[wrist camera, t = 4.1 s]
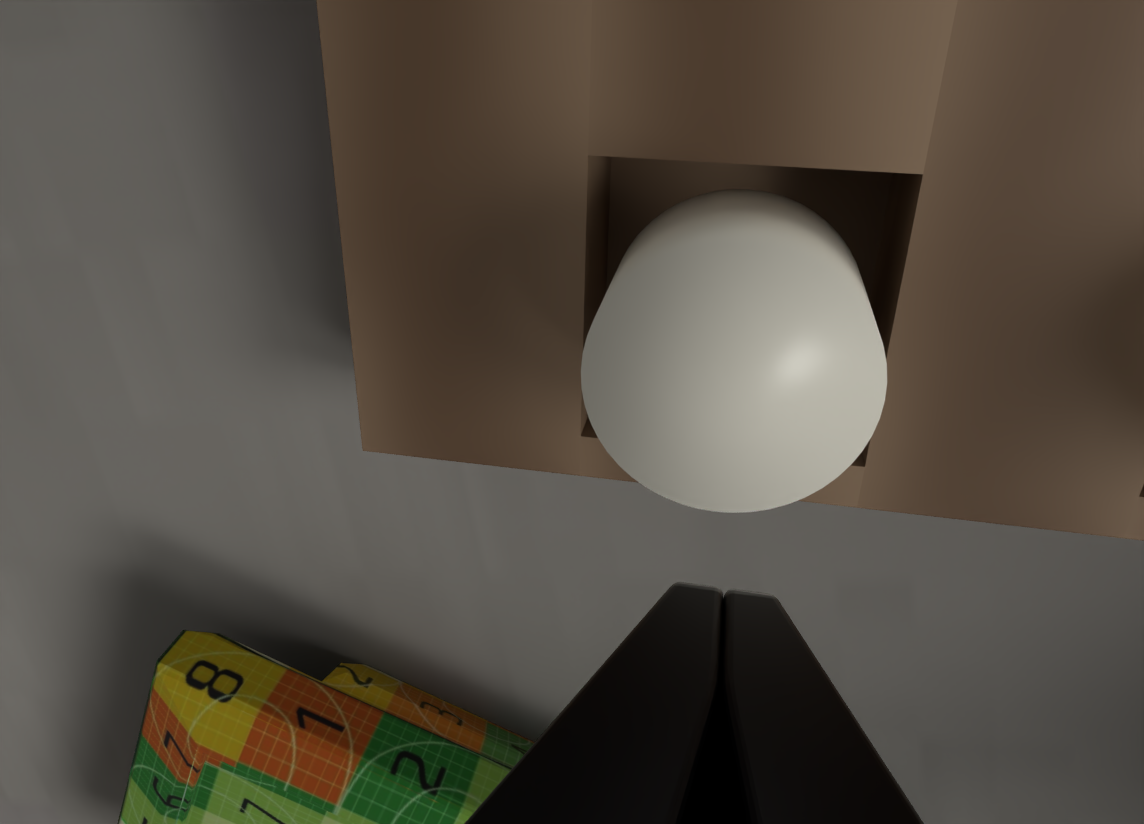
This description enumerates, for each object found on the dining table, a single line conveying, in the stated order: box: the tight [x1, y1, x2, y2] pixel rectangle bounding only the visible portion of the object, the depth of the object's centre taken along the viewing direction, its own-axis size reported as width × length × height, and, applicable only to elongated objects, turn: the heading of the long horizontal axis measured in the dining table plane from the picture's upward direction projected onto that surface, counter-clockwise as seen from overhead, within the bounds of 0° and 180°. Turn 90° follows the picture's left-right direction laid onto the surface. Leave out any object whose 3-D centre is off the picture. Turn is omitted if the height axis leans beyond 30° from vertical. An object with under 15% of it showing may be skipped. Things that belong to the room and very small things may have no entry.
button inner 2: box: [581, 189, 887, 513], centre depth 13 cm, size 4×4×3 cm
